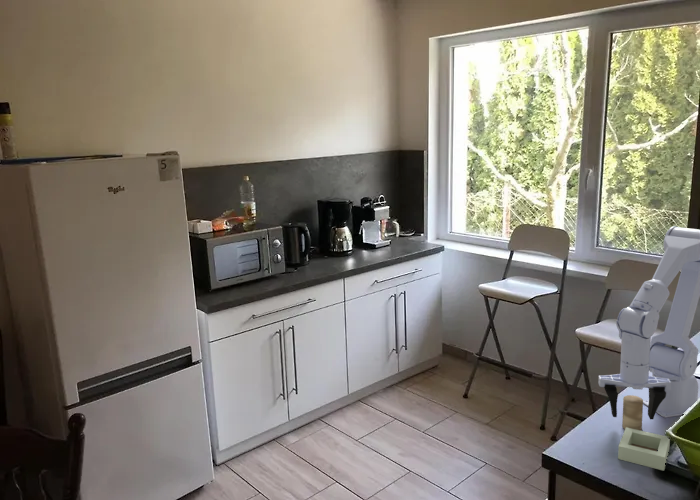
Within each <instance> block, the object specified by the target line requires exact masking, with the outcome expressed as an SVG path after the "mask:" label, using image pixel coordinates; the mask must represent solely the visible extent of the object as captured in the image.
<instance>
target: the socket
mask: <svg viewBox="0 0 700 500" xmlns="http://www.w3.org/2000/svg"><path fill="white" fill-rule="evenodd" d="M667 437H668V436H667V435H662V434H658V433H652V432H649V431H643V430H641V431H640V430H636V429H632V428H627V427H626V429H624V431H623V433H622V436H621V438H620V441H619V444H618V453H617V459H618V460H621V461H625V462H629V463H633V464H636V465H641V466H643V467H647V468H652V469H656V470H659V471H662V472H663V471H665V469H666V465H665V463H666V464H667V461H666V459H667V460H668V457H669V453H670V447H671V446H670V444H671V443H670V442H671V438H670V439H668V438H667ZM657 450H658V451H657ZM668 452H669V453H668ZM667 456H668V457H667Z"/></svg>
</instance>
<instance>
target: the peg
mask: <svg viewBox="0 0 700 500" xmlns="http://www.w3.org/2000/svg"><path fill="white" fill-rule="evenodd" d="M622 400H623V403H622V423H621V424H622V425H621V426H622V429H624V430H625V429H626V427H627V428H632V429H636V430H640V431H643V430H642V428H643V415H644V414H643V413H644V412H643V409H644V404H643V401H644V399H643V398H642V397H639V396H638V395H633V394H632V395H625V396H623V398H622Z"/></svg>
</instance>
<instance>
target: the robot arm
mask: <svg viewBox="0 0 700 500" xmlns="http://www.w3.org/2000/svg"><path fill="white" fill-rule="evenodd" d="M663 251H664V253H663V254H662V258H660V261H659V264H658V266H657V268H656V270H655V272H654V274H653V276H652V278H651V279H650V280H645V281H644V282H643V283H642V284H641V287H640V288H639V290H638V292H637V293H636V295H635V296H634V298H633V299H632V301H631V302H630V305H629V306H627V307H624V308H622V309H621V310H620V311H619V313H618V315H617V319H616V321H615V324H616V328H617V330H618V338H619V339H620V340H621V345H620V346H621V347H620V366H619V367H620V368H619V369H620V370H619V373H617V374H605V375H598V386H599V387H600V388H604V391H605V393H606V395H607V398H608V402H609V405H610V411H611V415H612V417H613V418H617V417H618V415H617V414H618V409H617V407H618V397H619V392H618V389H617V387H619V388H620V387H621V388H622V387H624V388H632V389H633V390H643V389H645V388H647V389H648V399H646V400H643V405H645V406H646V407H647V416H648V418H649V420H654V419H655V415H656V413H657V414H659V416H661V417H662V418H672V417H679V416H683V415H682V414H683V413H684V412H685V411H686V410H687V409H688V408H689V407H691V406H692V405H693V404H694V403H695V402H696V401H697V402H698V398H699V397H698V396H699V395H698V394H699V383H698V380H697V378H696V376H695V375H694V374H695V373H696V370H697V367H698V355H699V348H697V345H695V344H694V342H693V341H692V340H691V339H690V337H689V336H690V333H691V329H692V326H693V322H694V318H695V314H696V310H697V308H698V304H699V299H700V229H699V228H698V229H697V228H687V227H680V226H676V225H673V226H671V227H669V229H667V231H666V233H665V235H664V239H663ZM679 272H680V274H679ZM678 274H679V277H678V282H677V285H676V288H675V293H674V296H673V299H672V303H671V307H670V311H669V314H668V318H667V321H666V324H665V325H666V326H665V329H664V331H663V332H662V333H659V334H654V333H656V331H657V329H658V324H659V320H660V312H661V310H662V309H663V306H664V305H665V303H666V302H667V300H668V298H669V297H670V295H671V294H670V290H669V286H670V285H671V283H672V282H673V281H674V279H675V278H676V277H677V275H678ZM653 335H654V336H653ZM667 345H668V346H667ZM671 346H673V347H674V348H673V347H671ZM675 347H676V348H675ZM678 348H679V349H678ZM650 373H652V375H649V374H650Z"/></svg>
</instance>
